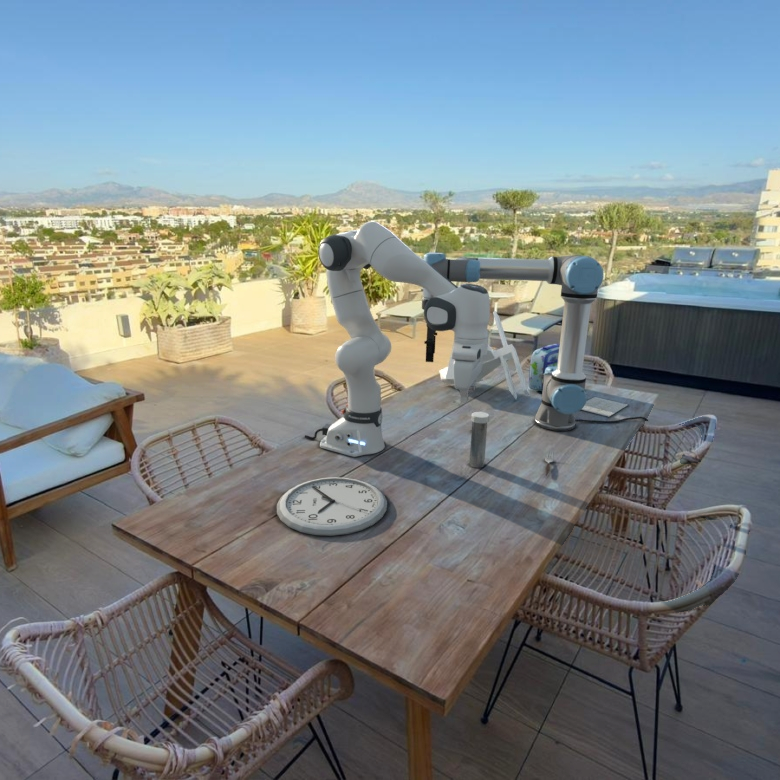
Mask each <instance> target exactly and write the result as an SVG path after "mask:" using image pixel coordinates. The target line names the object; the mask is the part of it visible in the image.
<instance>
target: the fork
mask: <svg viewBox="0 0 780 780" xmlns="http://www.w3.org/2000/svg"><path fill="white" fill-rule="evenodd" d="M552 452H553V453H552ZM554 455H555V452H554V451H551V452H550V453H548V452H546V453H545V459H544V461H545V462H547V464H546V466H545V475H546V476H548V473H549V471H550V468H551V467H550V464H551V463H553V462H554V458H555V456H554Z"/></svg>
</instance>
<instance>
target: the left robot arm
mask: <svg viewBox="0 0 780 780" xmlns="http://www.w3.org/2000/svg"><path fill="white" fill-rule="evenodd" d="M317 254H318V259H319V262H320V263H321V265H322V266H323V268H325V270H326V273H325V274H326V281H327V282H326V283H327V288H328V294H329V296H330V297H329V298H330V301H331V303H332V307H333V310H334V313H335V316H336V317H335V318H336V319H337V320H336V321H337V322H338V324H339V325H340V326H341V327H343V328H344V329H345V330H346V332H347V333H348V335H349V337H350V339H348V340H346V341H345V342H343V343H342V344H341V345H340V346H339V347H338V348H337V349H336V351H335V355H334V360H335V365H336V367H337V368H338V369H339V370H340V371H341V372H342V373H343V375H344V379H345V382H346V386H347V404H346V405H345V407H344V408H342V410H341V411H340V412H341V413H340V414H341V415H343V416H342V417H340V418H339V419H337V420H336V421H335V422H333V423H332V424H331V423H326V424H325V425H324V426H322V428H319V429H317V430H315V432H314V435H313V436H311V435H306V434H305V435H304V438H305V439H309V440H315V439H316V438H317V437H318V433H319V432H321V433H322V436H324V437H323V438H322V439H321V440H320V443H319V447H320V449H324V450H327V451H331V452H335V453H338V454H342V455H345V456H348V457H353V458H355V457H360V456H361V457H362V456H365V455H366V456H367V455H372V454H373V455H374V454H377V453H380V452H381V451H383V450H384V449H385V447H386V445H385V441H384V436H383V431H382V422H383V411H382V410H383V408H382V407H381V405H382V404H381V402H382V401H381V400H382V399H381V398H382V395H381V394H382V387H381V384H380V383H379V382H378V381H377V378H376V373H375V367H376V366H378V365H379V364H381V363H383V362H384V361H385V360H386V359H387V358H388V357H389V355H390V354H391V353H392V343H391V340H390V338H389V337H388V336H387V335H386V334H384V333H383V332H382V330H381V329H380V327H379V325H378V324H377V322H376V320H375V317H374V316H373V313H372V311H371V309H370V306H369V302H368V299H367V296H366V291H365V289H364V285H363V283H362V278H361V273H362V272H361V271H362V270H363V269H365V270H368V269H370V268H372V269H373V270H374V271H375V272H376V273H377V274H379V275H380V276H381V277H383V278H384V279H385V280H387V281H390V282H395V283H403V284H410V285H415V286H419V287H421V288H424V289H426V290H427V291H429V292H430V293H431V294H432V295H433V296H434V297H433V298H431V299H429V300H428V301H427V303H426V305H425V308H424V310H423V318H424V321H425V324H427V325H428V326H429V327H430V328H431V329H432V330H435V331H436V332H447V331H451V332H452V331H453V333H454V337H453V344H454V348H453V347H452V348H453V351H452V350H451V352H452V359H455V360H454V384H453V385H454V388H455V390H459V394H460V402H461V403H464V404H466V403H468V402H469V393H470V394H471V393H472V394H474V392H475V391H476V385H477V383H476V380H477V377H478V376H479V374H480V373H481V370H482V356H485V355H487V347H488V344H489V332H488V326H489V322H490V317H491V315H490V313H491V300H490V299H491V298H490V294H489V291H488V289H486V288H485V287H483V286H482V285H479V284H473V283H462V284H460V285H456V284H455V283H454V282H452V281H450V280H449V279H447V278H446V277H445V276H444V275H443V274H441V273H440V272H439V271H438V270H436V269H435V268H434V267H433V266H431V265H430V264H428V263H427V262H426V261H424V258H422V257H421V256H419V255H418V254H416V253H415V252H414V251H413V250H412V249H410V247H409V246H408V245H406V244H405V243H404V242H403V241H402V240H401V239H400V238H399V237H398V236H397V235H396V234H394V233H393V232H392V231H391V230H390V229H388V228H386V227H385V226H384V225H382V224H381V223H379V222H377V221H368V222H365V223H363V224H362V225H361V226H360V227H359V228H358V229H357V230H356V229H355V230H348V231H346V232H340V233H337V234H331V235H328V236H326V237H324V238H322V239H321V240H320V242H319V244H318V250H317ZM427 325H426V326H427Z"/></svg>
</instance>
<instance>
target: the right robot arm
mask: <svg viewBox="0 0 780 780" xmlns="http://www.w3.org/2000/svg"><path fill="white" fill-rule="evenodd" d="M423 260H424V261H426V262H427V263H428V264H430V265H431V266H433V267H434V268H435V269H436V270H438V271H439V272H440V273H441V274H443V275H444V276H445V277H446V278H447V279H449V280H450V281H451V282H452V283H454V282H457V283H467V284H471V283H477V282H479V281H480V280H495V281H497V280H499V281H500V280H501V281H526V282H527V281H531V282H546V283H547V284H548V285H557V286H561V289H560V298H561V299H562V300H563V303H564V305H563V313H562V322H561V330H560V339H559V345H560V346H559V355H558V364H557V366H553V367H547V368H546V369H545V373H544V382H543V392H542V391H541V393H542V394H541V402H540V405H539V407H538V410H537V411H536V413H535V416H534V424H535V425H536V426H537V427H539V428H542V429H544V430H549V431H556V432H567V431H572V430H574V429H575V428H576V422H579V423H581V422H582V423H596V424H597V423H598V424H615V423H616V424H617V423H621V422H624V421H628V420H629V421H630V420H641V419H642V420H644V421H646V422H649V419H648V418H646V417H645V416H633V417H625V418H622V419H618V420H596V419H595V420H593V419H576V418H575V417H576V416H575V414H576V413H579V412H580V411H582V410H581V409H582V408H583V407H584V406H585V404H586V401H588V397H587V392H586V389H585V388H586V383H587V382H586V381H587V375H586V374H585V373H584V371H583V369H584V361H585V355H586V347H587V339H588V338H587V337H588V330H589V324H590V318H591V317H590V316H591V308H592V303H593V302H594V301H596V300H597V298H598V294H599V293H598V291H599V288H601V285H602V284H603V281H604V269H603V267H602V265H601V264H600V262H599V261H597V260H596V259H595V258H594V257H592V256H587V255H581V254H574V255H573V254H572V255H565V256H551V257H549V258H548V259H545V258H544V259H543V258H542V259H541V258H540V259H539V258H501V257H500V258H497V257H496V258H495V257H494V258H492V257H466V256H460V257H457V258H455V259H451V258H449V259H448V258H447V257H446V253H444V252H427V253H425V254H424V255H423ZM420 292H421V293H422V294H421V296H422V299H421V309H422V310H423V311H424V308H425V305H426V303H427V301H428V300H429V299H431V298H433V297H434V296H433V295H432V294H431V293H430V292H429V291H427V290H426V289H424V288H423V287H421V288H420ZM425 324H426V340H424V342H423V343H424V344H425V362H426V363H434V359H435V357H434V356H435V353H436V338H437V337H436V336H438V332H437V331H435V330H432V329H431V328H430V327H429V326H428V325H427V323H425Z"/></svg>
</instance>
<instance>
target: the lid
mask: <svg viewBox="0 0 780 780" xmlns="http://www.w3.org/2000/svg"><path fill="white" fill-rule="evenodd" d="M470 420H471V422H472V421H473V422H475V423H487V424H488V423H489V421H490V414H489V413H488V412H484V411H475V412H472V413H471V416H470Z"/></svg>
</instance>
